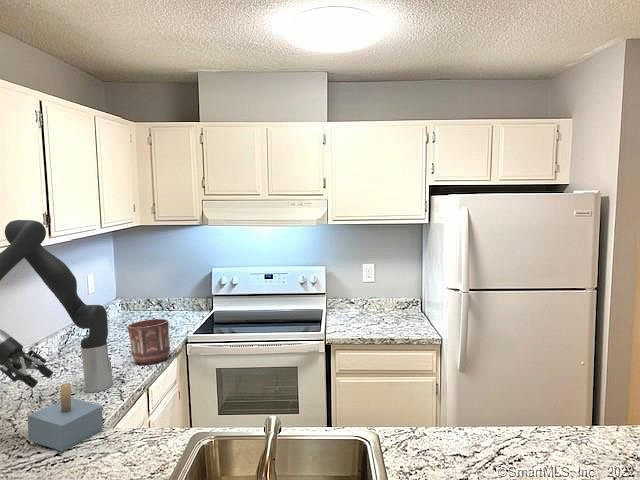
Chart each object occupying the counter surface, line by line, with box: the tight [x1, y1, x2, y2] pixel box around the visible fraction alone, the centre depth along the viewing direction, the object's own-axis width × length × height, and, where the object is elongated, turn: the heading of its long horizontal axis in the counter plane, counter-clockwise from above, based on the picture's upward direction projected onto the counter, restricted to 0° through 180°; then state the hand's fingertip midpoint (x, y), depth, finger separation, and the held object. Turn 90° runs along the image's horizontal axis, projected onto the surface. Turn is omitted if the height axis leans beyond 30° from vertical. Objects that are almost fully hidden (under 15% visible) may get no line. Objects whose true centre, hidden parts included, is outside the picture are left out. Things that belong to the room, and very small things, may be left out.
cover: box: [27, 382, 104, 453], centre depth 140 cm, size 14×14×16 cm
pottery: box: [126, 318, 171, 365], centre depth 217 cm, size 18×18×18 cm
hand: (43, 380), depth 141 cm, fingers open, 8 cm apart
